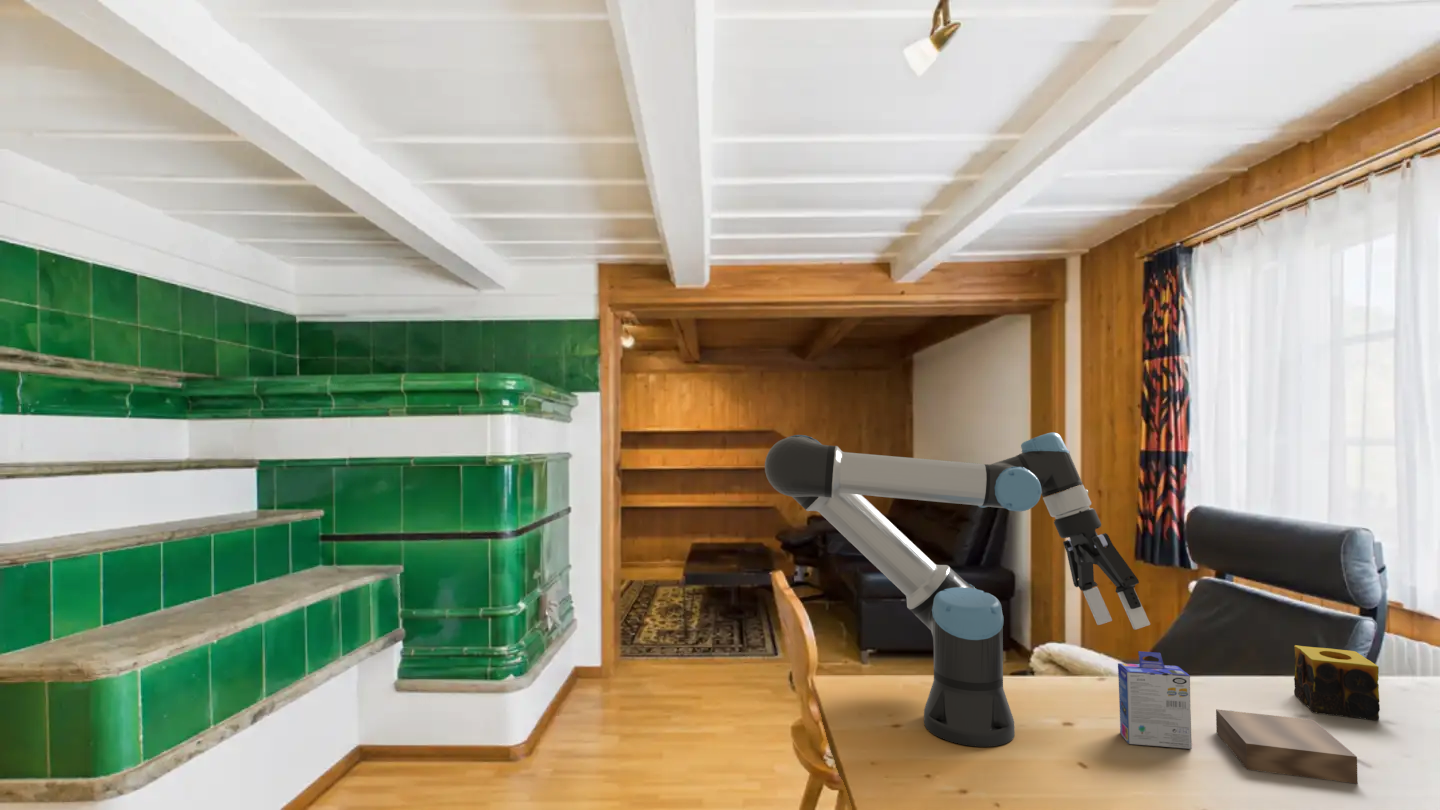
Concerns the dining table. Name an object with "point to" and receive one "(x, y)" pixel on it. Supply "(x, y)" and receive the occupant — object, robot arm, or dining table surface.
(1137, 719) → the ink cartridge box
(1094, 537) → the robot arm
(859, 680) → the dining table surface
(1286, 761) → the walnut stand
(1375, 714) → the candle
